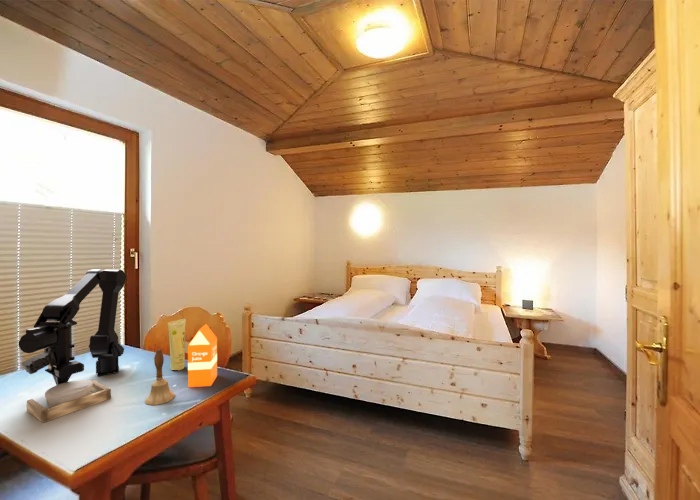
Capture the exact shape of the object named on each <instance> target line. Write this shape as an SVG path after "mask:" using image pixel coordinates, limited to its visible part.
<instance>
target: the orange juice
mask: <svg viewBox="0 0 700 500" xmlns="http://www.w3.org/2000/svg"><path fill="white" fill-rule="evenodd" d="M217 377H218V337H217V335H216V334H214V332H213V331H212V329H211V328H210V327H209V325H208V324H207V323H205V324H204V325H202V327H200V328H199V329H198V331H197V332H196V334H195V335H194V336H193V338H192V339H191V340H190V342H189V343H188V345H187V380H188V381H187V382H188V383H187V387H188V388H196V387H197V388H198V387H211V386H212V385H213V383H214V381H215V380H216V378H217Z"/></svg>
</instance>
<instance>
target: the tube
mask: <svg viewBox="0 0 700 500" xmlns="http://www.w3.org/2000/svg"><path fill="white" fill-rule="evenodd" d="M186 324H187V319H186V318H181V319H177V320H173V321H168V322H167V329H168V339H169V340H168V341H169V357H170V363H169V365H170V370H171V371H172V370H178V371H181V370H184V369H185V366H186V364H185V362H186V361H185V359H186V358H185V355H186V354H185V352H186V349H185V348H186Z"/></svg>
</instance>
